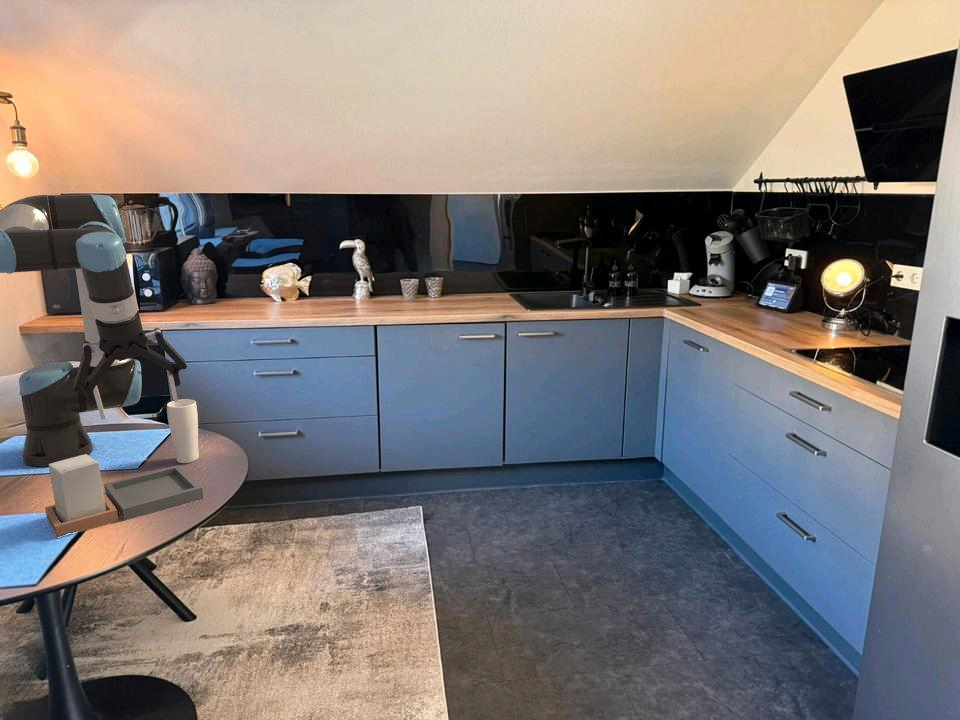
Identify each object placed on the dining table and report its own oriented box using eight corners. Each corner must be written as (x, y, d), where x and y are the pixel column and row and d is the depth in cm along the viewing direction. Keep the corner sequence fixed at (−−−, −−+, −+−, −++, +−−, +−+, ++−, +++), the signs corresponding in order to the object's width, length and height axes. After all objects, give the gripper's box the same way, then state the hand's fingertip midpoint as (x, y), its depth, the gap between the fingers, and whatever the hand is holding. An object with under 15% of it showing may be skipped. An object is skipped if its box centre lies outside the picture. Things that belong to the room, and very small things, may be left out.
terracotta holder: (46, 518, 141) (44, 507, 141) (105, 502, 148) (103, 491, 148) (57, 538, 133) (55, 527, 133) (118, 521, 140) (117, 510, 140)
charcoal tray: (105, 494, 152) (103, 483, 152) (179, 474, 162) (178, 465, 162) (124, 520, 141) (122, 509, 140) (203, 497, 151) (202, 487, 150)
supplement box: (108, 519, 141) (100, 462, 138) (68, 532, 136) (58, 473, 133) (95, 508, 146) (87, 452, 143) (56, 520, 141) (47, 463, 137)
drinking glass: (191, 466, 167) (185, 408, 163) (167, 464, 168) (160, 406, 165) (207, 455, 174) (201, 399, 170) (183, 453, 175) (177, 398, 171)
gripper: (41, 337, 120) (71, 433, 131) (190, 311, 131) (207, 401, 142) (39, 319, 125) (69, 412, 136) (183, 295, 137) (200, 383, 148)
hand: (139, 407), depth 139 cm, fingers open, 13 cm apart
